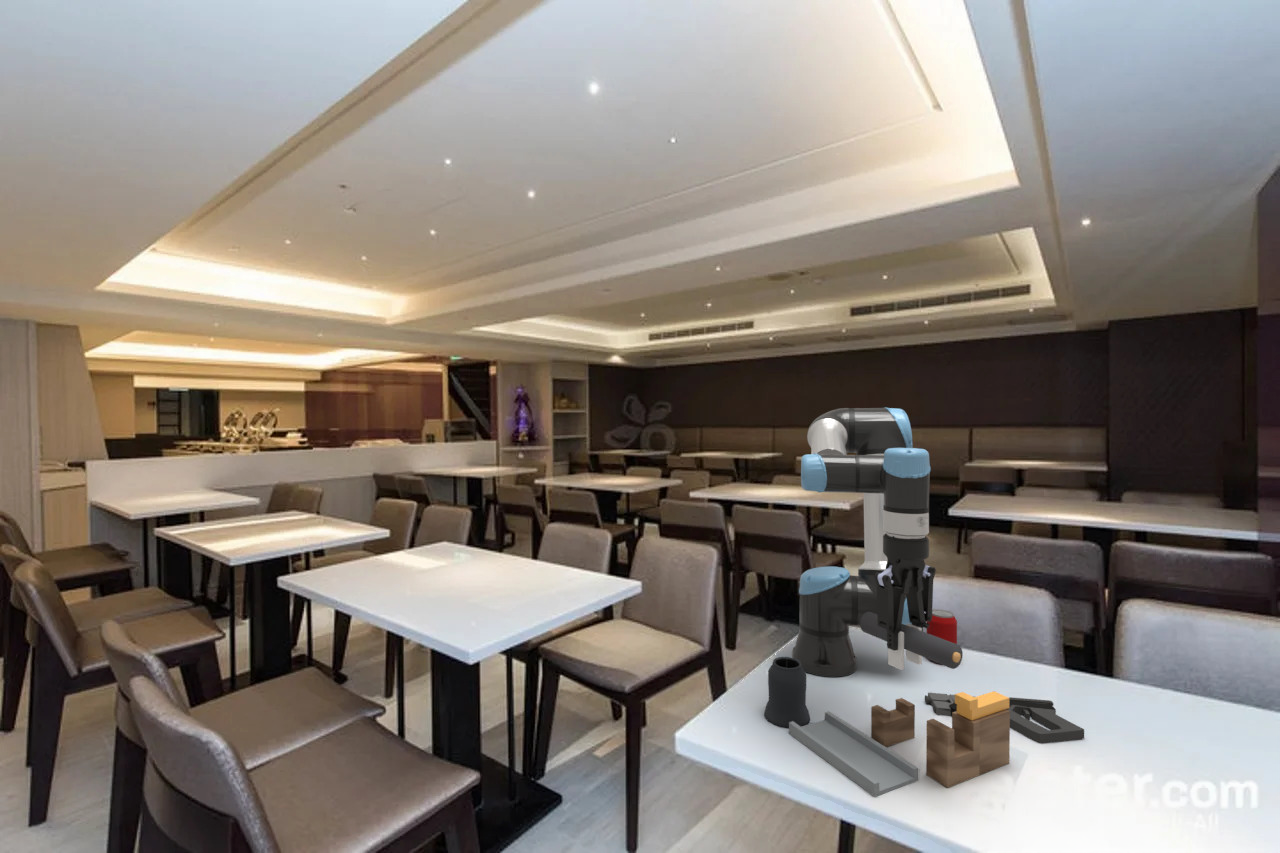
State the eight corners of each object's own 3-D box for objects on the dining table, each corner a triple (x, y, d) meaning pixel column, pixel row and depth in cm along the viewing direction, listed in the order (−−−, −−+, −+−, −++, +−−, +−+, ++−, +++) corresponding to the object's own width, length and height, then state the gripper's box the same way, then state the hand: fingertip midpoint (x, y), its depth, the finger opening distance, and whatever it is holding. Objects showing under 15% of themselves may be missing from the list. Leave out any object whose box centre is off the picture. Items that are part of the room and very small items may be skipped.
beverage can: (946, 654, 151) (946, 607, 151) (962, 665, 144) (963, 616, 144) (921, 655, 150) (921, 608, 150) (936, 666, 144) (936, 617, 143)
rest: (871, 739, 111) (871, 706, 111) (901, 730, 115) (901, 697, 115) (883, 747, 109) (884, 713, 108) (914, 737, 112) (914, 704, 112)
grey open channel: (788, 733, 114) (788, 722, 114) (828, 721, 118) (828, 711, 118) (874, 796, 95) (874, 783, 95) (918, 780, 99) (918, 767, 99)
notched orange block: (954, 713, 102) (954, 694, 102) (993, 701, 107) (994, 682, 107) (969, 721, 100) (970, 701, 100) (1009, 707, 104) (1009, 688, 104)
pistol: (1094, 739, 108) (1055, 700, 123) (943, 724, 113) (922, 688, 128) (1094, 751, 108) (1055, 711, 123) (942, 736, 113) (922, 699, 128)
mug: (811, 731, 114) (812, 674, 114) (763, 726, 116) (764, 669, 116) (807, 702, 126) (808, 649, 126) (764, 697, 128) (764, 646, 128)
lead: (858, 633, 113) (858, 612, 113) (872, 629, 115) (873, 609, 115) (949, 672, 96) (949, 647, 96) (965, 667, 98) (965, 643, 98)
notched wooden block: (926, 774, 100) (926, 720, 100) (987, 751, 107) (987, 701, 107) (947, 788, 97) (947, 732, 97) (1009, 763, 104) (1009, 710, 103)
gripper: (890, 543, 98) (889, 682, 99) (956, 533, 106) (954, 662, 106) (855, 535, 105) (854, 665, 105) (919, 526, 113) (918, 648, 113)
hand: (904, 663), depth 106 cm, fingers closed on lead, 4 cm apart
